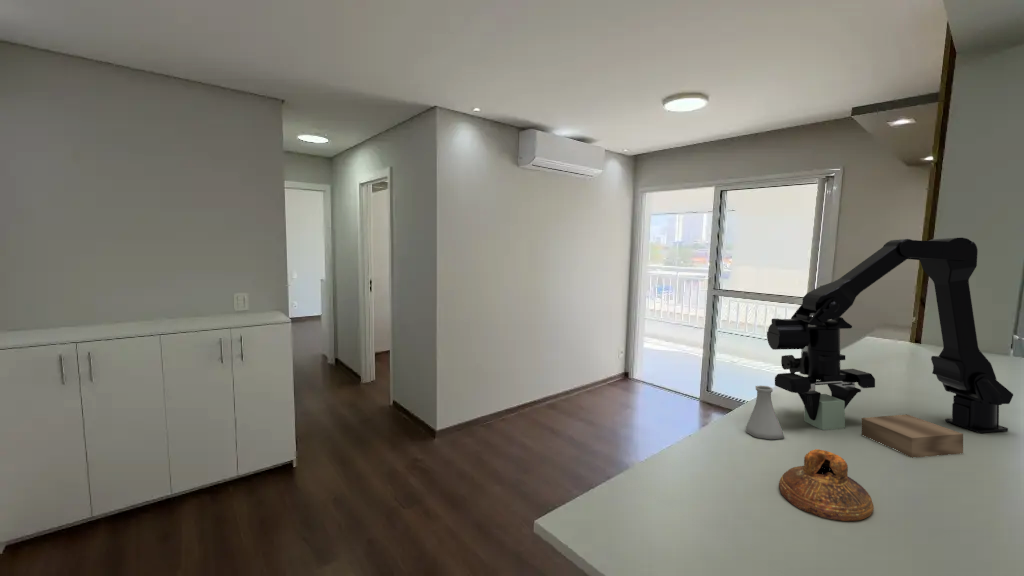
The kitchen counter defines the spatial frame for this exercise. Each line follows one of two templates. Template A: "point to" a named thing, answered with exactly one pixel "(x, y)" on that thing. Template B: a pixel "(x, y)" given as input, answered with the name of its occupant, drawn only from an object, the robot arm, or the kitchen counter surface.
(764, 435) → the flask
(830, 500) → the brown clay lid
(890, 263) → the robot arm
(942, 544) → the kitchen counter surface
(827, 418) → the sage cube
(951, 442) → the walnut block
